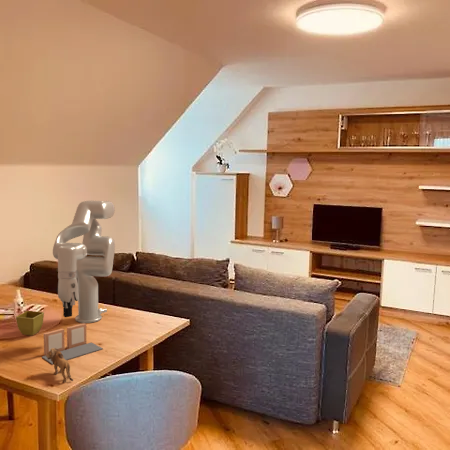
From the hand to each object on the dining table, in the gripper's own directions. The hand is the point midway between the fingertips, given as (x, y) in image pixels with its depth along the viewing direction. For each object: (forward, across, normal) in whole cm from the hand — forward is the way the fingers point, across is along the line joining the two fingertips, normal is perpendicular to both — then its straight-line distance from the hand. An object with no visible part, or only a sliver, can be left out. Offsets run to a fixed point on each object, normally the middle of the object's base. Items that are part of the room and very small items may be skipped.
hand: (67, 316), depth 200 cm
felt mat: (+12, -12, +4) cm, 18 cm away
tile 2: (+12, -6, -1) cm, 13 cm away
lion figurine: (+13, -27, +17) cm, 35 cm away
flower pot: (+12, +21, +7) cm, 25 cm away
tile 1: (+12, -6, +9) cm, 16 cm away
